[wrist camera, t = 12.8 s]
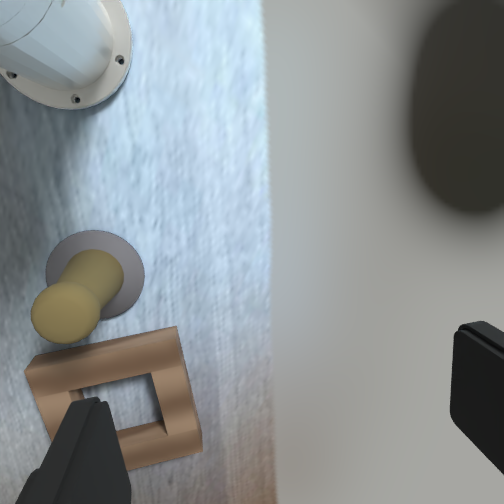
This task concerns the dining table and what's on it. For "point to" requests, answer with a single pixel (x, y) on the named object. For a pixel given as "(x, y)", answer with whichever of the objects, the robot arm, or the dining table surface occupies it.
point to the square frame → (119, 367)
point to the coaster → (112, 246)
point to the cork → (77, 297)
